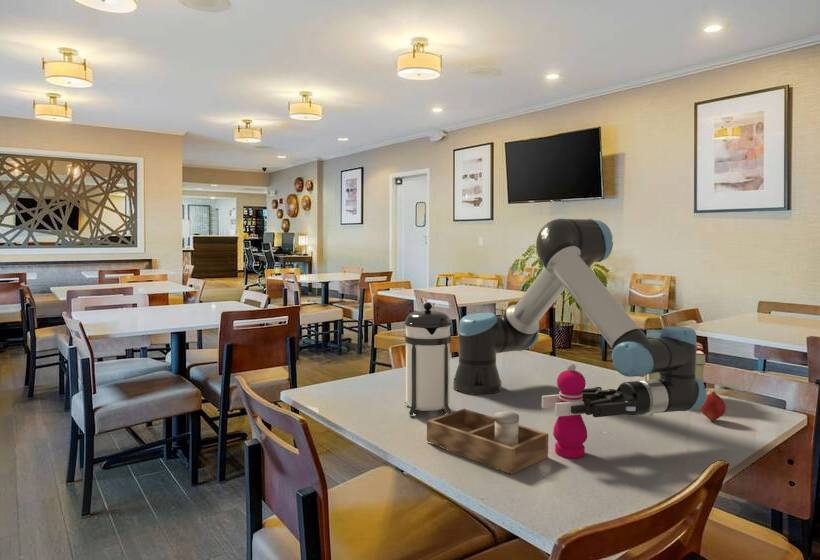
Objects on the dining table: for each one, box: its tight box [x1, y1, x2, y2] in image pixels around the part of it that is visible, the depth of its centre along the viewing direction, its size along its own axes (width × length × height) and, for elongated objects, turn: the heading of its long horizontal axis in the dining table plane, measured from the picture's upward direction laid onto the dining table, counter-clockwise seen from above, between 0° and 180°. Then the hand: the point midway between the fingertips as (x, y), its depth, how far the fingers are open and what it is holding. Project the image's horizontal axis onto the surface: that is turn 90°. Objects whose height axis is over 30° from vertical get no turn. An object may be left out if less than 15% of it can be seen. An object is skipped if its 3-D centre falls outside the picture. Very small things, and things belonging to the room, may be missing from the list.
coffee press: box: [403, 301, 452, 415], centre depth 150 cm, size 17×16×30 cm
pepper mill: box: [552, 363, 588, 459], centre depth 119 cm, size 7×7×20 cm
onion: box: [700, 390, 727, 422], centre depth 141 cm, size 6×6×8 cm
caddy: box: [426, 408, 549, 475], centre depth 122 cm, size 24×13×9 cm, turn 43°
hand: (549, 405), depth 118 cm, fingers closed on pepper mill, 5 cm apart
